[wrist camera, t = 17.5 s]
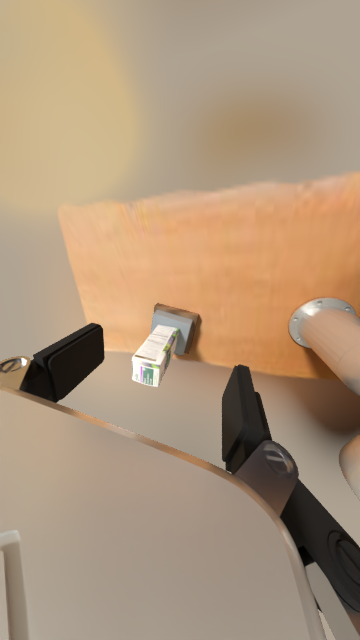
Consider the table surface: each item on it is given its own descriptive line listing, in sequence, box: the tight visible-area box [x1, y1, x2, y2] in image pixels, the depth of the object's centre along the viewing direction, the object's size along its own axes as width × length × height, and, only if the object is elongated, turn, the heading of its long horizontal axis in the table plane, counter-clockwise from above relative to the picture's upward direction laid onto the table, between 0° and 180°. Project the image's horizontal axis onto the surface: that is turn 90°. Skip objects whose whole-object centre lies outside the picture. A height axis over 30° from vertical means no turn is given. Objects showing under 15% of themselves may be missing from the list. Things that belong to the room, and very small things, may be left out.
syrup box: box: [132, 325, 179, 387], centre depth 36 cm, size 6×6×14 cm
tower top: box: [150, 310, 193, 356], centre depth 43 cm, size 10×10×3 cm
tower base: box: [154, 303, 199, 354], centre depth 46 cm, size 12×12×3 cm
